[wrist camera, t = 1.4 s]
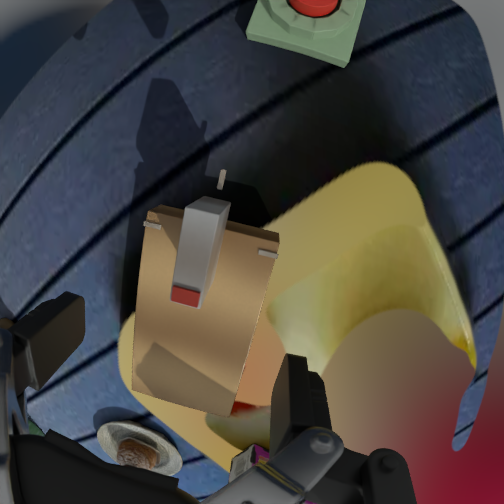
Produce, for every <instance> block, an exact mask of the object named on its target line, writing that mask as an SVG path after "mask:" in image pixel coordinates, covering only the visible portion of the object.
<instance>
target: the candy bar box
mask: <svg viewBox="0 0 504 504" xmlns="http://www.w3.org/2000/svg"><path fill="white" fill-rule="evenodd" d="M268 461H269V450H266V449H264V448H262V447H260V446H258V445H256V444H253V445H251V446H250V447H248V448H247V449H246V450H244V451H243V452H241V453H240V454H238V455H236V456H235V457H234V458H233V459H232V461H231V469H230V475H229V482H228V483H230V482H231V481H233V480H234V479H235V478H237V477H238V476H240V475H241V474H242V473H244V472H245V471H246V470H248V469H249V468H251V467H252V466H253V465H255V464H257V463H259V462H261V463H262V464H265V463H266V462H268ZM303 504H316V503H313V502H310V501H307V500H306V501H305V502H304V503H303Z"/></svg>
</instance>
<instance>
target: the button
mask: <svg viewBox="0 0 504 504" xmlns="http://www.w3.org/2000/svg"><path fill="white" fill-rule="evenodd" d="M289 2H290V4H291V5H292V6H293V8H295V9H296V10H297V11H299V12H300V13H302V14H305V15H308V16H316V17H317V16H324V15H327V14H329V13H330V12H332V11H333V10H334V9H335V7H336V5H337V2H338V0H289Z"/></svg>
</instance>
